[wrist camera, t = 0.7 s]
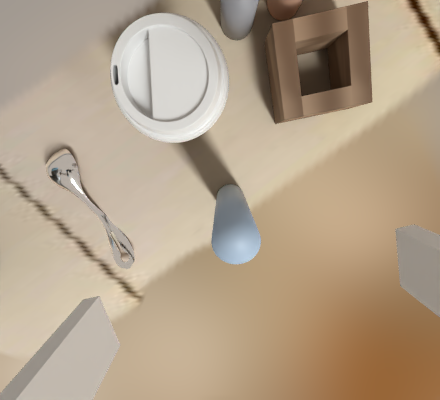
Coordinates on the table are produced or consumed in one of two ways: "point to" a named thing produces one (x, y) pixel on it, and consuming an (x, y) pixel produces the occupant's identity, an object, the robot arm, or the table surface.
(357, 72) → the socket block
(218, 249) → the tall dowel
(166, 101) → the coffee cup
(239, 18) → the short dowel
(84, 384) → the robot arm
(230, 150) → the table surface
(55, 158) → the silver metal utensil
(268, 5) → the medium dowel
